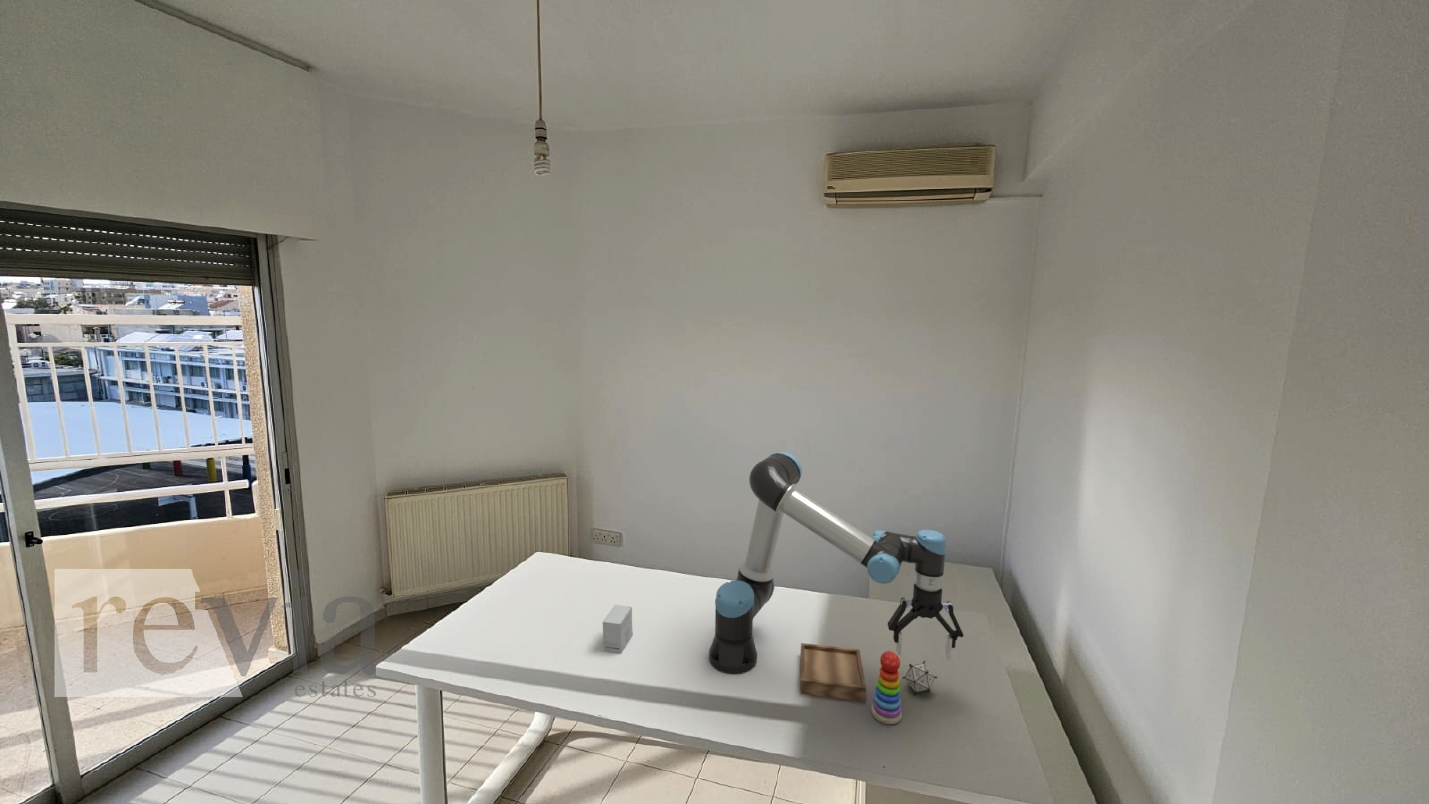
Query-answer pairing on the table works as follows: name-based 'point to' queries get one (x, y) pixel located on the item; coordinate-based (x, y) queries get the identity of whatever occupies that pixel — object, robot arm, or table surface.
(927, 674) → the game die
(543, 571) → the table surface
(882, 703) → the stacking toy
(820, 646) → the square tray
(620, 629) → the skincare box
